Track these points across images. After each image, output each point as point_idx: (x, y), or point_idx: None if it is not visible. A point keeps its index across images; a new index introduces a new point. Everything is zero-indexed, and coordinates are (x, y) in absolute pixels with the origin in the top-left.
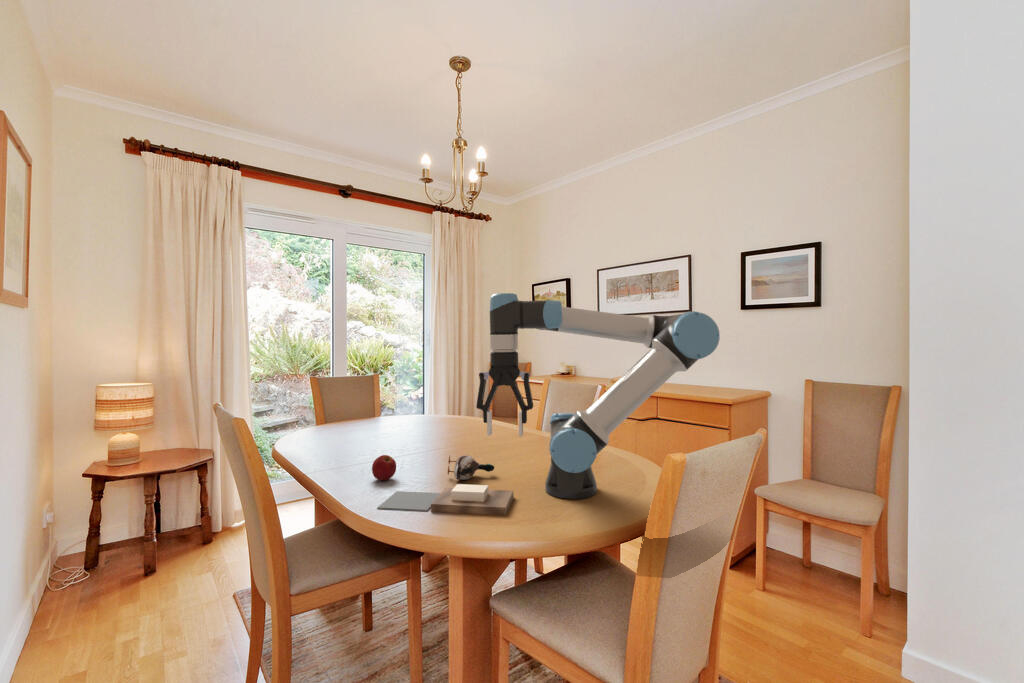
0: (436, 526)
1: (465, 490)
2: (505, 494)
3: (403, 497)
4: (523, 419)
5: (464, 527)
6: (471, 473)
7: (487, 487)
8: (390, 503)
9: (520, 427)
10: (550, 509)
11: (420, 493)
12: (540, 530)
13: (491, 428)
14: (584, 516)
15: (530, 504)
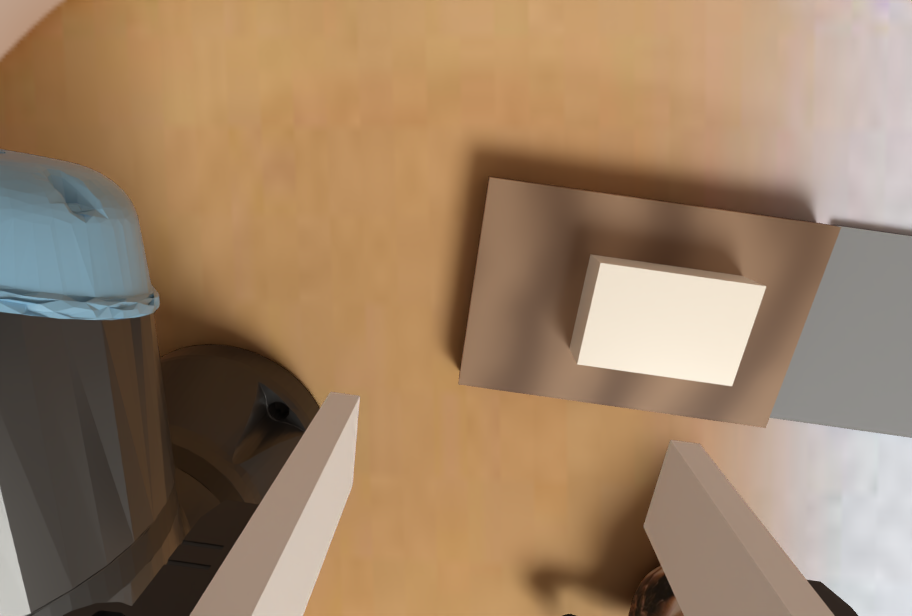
0: (794, 49)
1: (692, 293)
2: (492, 338)
3: None
4: (225, 547)
5: (667, 37)
6: (647, 584)
7: (580, 344)
8: None
9: (311, 450)
10: (303, 240)
11: (864, 416)
12: (337, 4)
13: (671, 556)
14: (163, 161)
15: (387, 296)
